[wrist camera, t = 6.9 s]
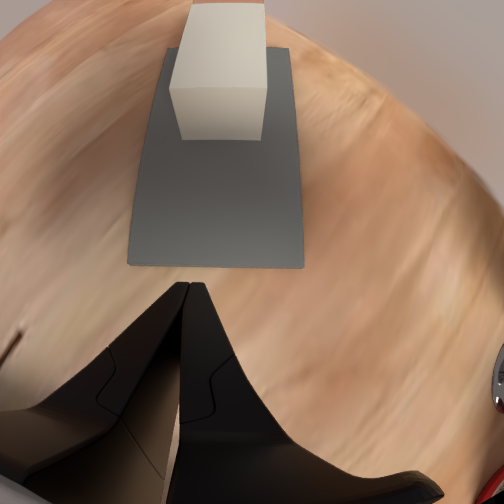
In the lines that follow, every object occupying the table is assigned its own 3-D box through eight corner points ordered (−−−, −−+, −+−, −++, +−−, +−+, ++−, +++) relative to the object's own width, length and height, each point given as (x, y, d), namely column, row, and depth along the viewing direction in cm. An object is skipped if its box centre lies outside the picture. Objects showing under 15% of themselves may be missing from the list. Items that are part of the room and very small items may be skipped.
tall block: (267, 88, 14) (263, -1, 16) (169, 88, 14) (193, -1, 16) (260, 140, 19) (259, 46, 21) (182, 140, 19) (198, 46, 21)
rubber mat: (302, 268, 18) (304, 266, 17) (130, 265, 17) (127, 263, 17) (287, 53, 22) (288, 48, 21) (169, 53, 21) (168, 48, 21)
